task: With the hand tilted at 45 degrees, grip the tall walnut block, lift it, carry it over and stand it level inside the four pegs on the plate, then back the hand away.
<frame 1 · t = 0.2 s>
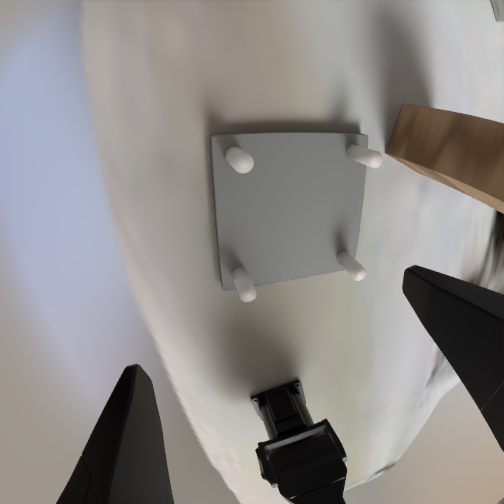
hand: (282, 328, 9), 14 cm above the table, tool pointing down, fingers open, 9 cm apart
peg plate: (291, 207, 23), on the table
walnut block: (412, 139, 23), on the table
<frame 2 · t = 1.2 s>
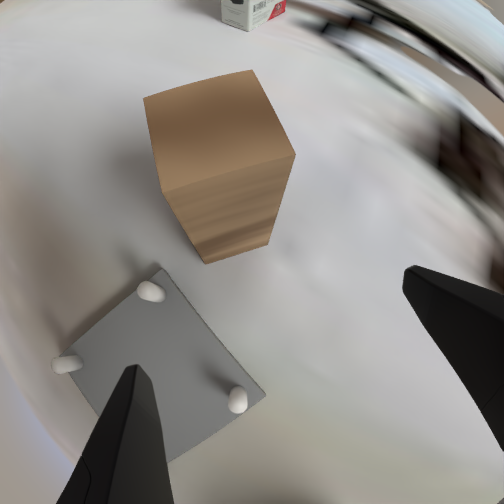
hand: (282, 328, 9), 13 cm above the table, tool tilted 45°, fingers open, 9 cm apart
ink box: (254, 17, 31), on the table
peg plate: (154, 378, 20), on the table
walnut block: (227, 225, 23), on the table
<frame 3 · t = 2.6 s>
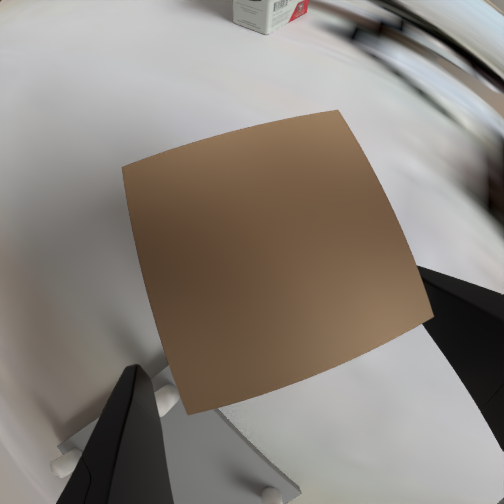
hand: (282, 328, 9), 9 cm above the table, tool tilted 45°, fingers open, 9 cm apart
ink box: (271, 18, 26), on the table
peg plate: (171, 475, 15), on the table
walnut block: (254, 301, 18), on the table
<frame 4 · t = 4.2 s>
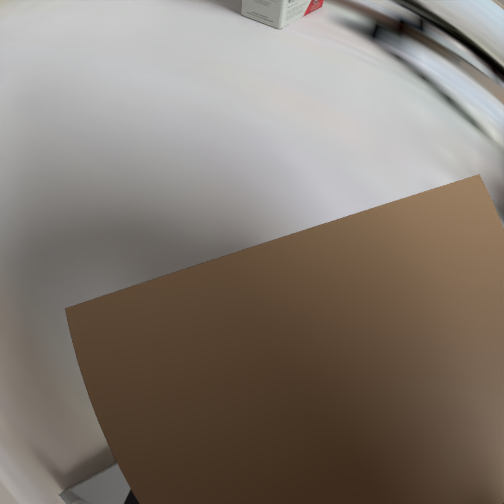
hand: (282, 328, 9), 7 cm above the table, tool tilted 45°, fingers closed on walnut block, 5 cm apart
ink box: (284, 11, 23), on the table
walnut block: (274, 353, 15), on the table, touching gripper
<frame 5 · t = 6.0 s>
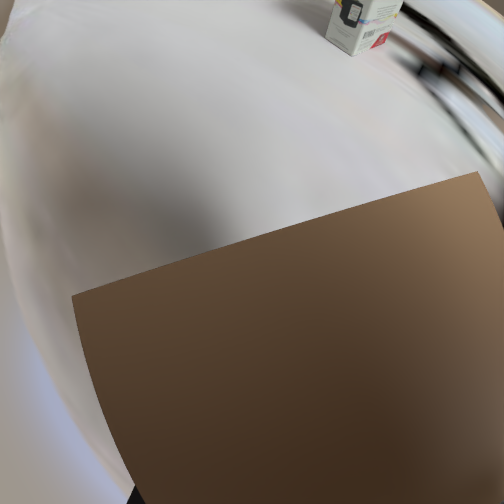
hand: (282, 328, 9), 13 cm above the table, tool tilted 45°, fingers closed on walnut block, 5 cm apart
ink box: (355, 41, 30), on the table
walnut block: (278, 350, 15), point 7 cm above the table, touching gripper
when the fingers open (9 cm above the table, at t = 7.9 s): walnut block drops 1 cm, resting on peg plate.
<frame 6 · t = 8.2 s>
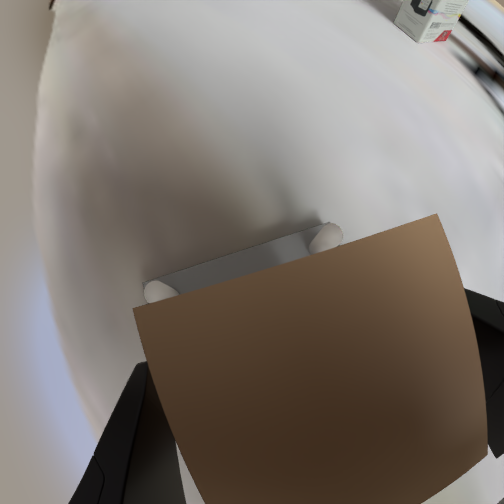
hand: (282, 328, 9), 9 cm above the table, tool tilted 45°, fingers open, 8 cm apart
ink box: (420, 33, 27), on the table
peg plate: (270, 348, 17), on the table
walnut block: (272, 350, 16), point 1 cm above the table, touching peg plate
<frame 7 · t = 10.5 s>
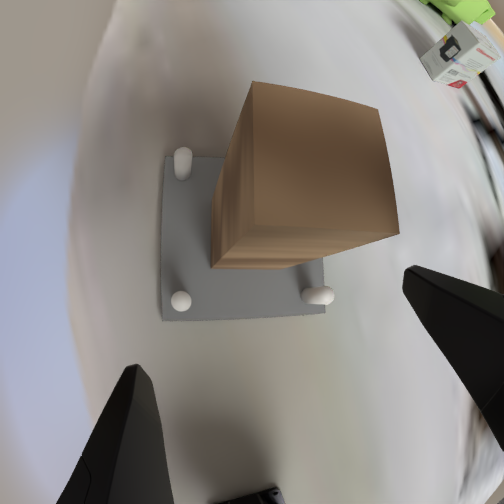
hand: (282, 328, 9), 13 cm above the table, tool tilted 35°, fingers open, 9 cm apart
ink box: (439, 74, 34), on the table
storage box: (432, 6, 43), on the table
peg plate: (242, 236, 22), on the table
walnut block: (245, 234, 21), point 1 cm above the table, touching peg plate
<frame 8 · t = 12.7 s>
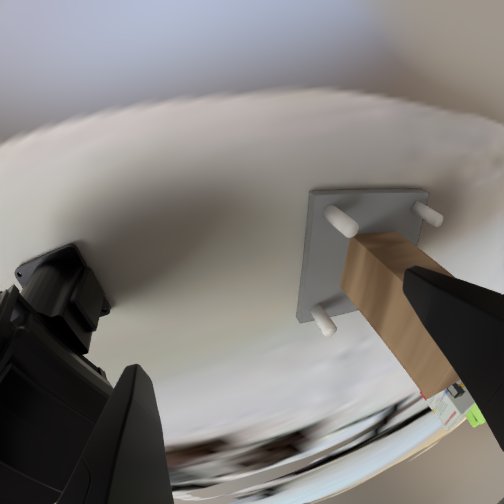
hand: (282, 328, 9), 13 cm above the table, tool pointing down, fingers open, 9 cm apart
ink box: (431, 377, 48), on the table
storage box: (479, 371, 65), on the table
peg plate: (362, 252, 25), on the table
walnut block: (368, 258, 25), point 1 cm above the table, touching peg plate
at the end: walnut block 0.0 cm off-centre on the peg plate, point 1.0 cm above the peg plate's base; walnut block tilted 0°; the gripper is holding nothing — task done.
